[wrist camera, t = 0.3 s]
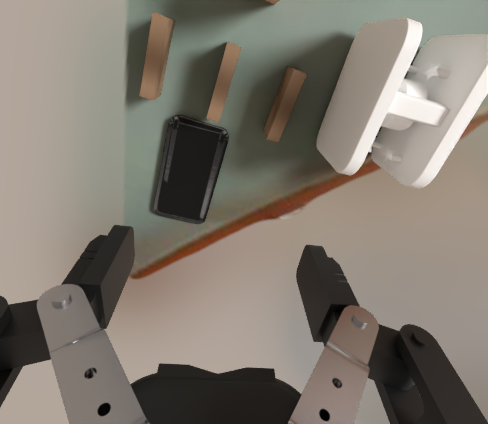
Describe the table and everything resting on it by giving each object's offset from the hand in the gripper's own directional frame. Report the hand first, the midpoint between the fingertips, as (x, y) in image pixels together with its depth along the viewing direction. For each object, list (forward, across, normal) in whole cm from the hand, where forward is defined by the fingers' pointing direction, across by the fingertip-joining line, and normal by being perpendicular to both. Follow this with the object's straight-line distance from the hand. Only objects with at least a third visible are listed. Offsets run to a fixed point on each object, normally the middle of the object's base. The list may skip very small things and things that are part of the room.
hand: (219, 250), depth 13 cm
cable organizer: (+28, -18, -5) cm, 33 cm away
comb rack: (+27, +1, -4) cm, 27 cm away
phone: (+28, +4, +9) cm, 29 cm away
